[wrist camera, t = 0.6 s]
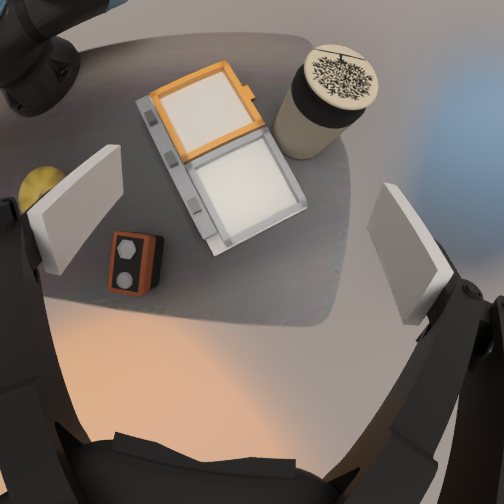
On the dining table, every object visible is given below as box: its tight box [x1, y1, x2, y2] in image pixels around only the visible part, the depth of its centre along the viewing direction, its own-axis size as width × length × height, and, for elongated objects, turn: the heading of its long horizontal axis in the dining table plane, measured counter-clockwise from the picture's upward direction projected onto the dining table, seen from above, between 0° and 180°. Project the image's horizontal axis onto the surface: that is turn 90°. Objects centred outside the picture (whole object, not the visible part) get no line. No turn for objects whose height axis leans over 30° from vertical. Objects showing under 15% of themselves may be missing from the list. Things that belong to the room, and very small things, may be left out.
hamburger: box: [18, 166, 67, 214], centre depth 33 cm, size 8×7×12 cm
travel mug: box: [272, 45, 378, 160], centre depth 33 cm, size 8×8×18 cm
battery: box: [108, 231, 164, 297], centre depth 35 cm, size 4×7×10 cm, turn 172°
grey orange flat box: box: [135, 60, 309, 257], centre depth 37 cm, size 25×15×7 cm, turn 28°
